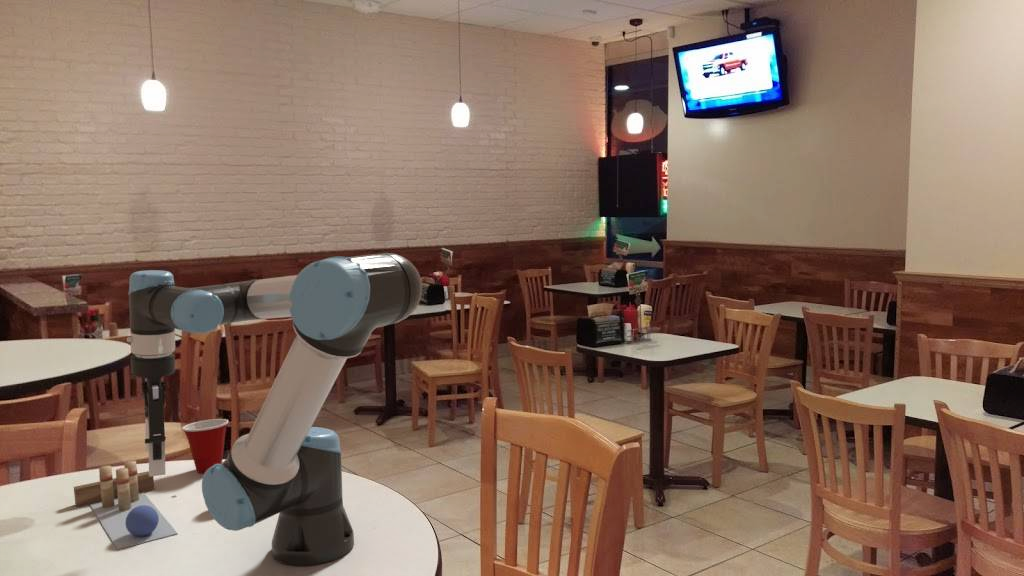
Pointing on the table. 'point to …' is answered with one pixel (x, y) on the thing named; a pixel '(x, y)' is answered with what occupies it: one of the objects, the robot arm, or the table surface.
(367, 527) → the table surface
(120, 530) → the plate
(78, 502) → the backstop
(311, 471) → the robot arm
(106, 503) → the pin left
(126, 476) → the pin front
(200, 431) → the plastic cup
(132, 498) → the pin right
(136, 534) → the ball
